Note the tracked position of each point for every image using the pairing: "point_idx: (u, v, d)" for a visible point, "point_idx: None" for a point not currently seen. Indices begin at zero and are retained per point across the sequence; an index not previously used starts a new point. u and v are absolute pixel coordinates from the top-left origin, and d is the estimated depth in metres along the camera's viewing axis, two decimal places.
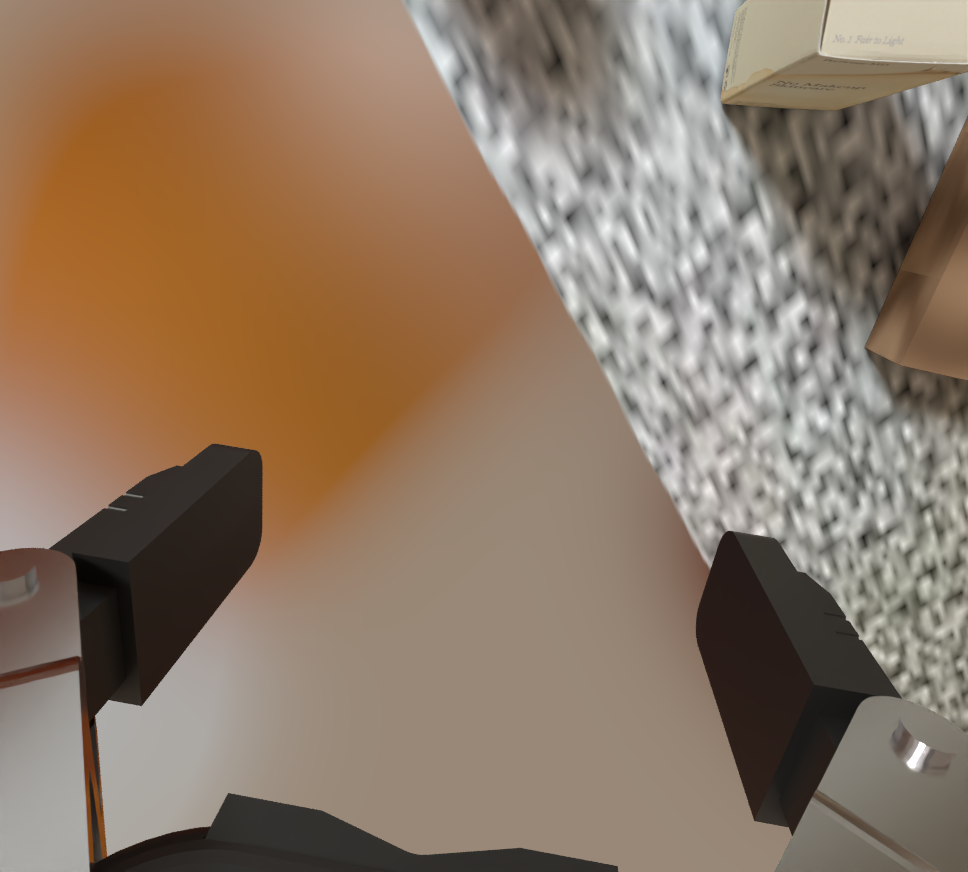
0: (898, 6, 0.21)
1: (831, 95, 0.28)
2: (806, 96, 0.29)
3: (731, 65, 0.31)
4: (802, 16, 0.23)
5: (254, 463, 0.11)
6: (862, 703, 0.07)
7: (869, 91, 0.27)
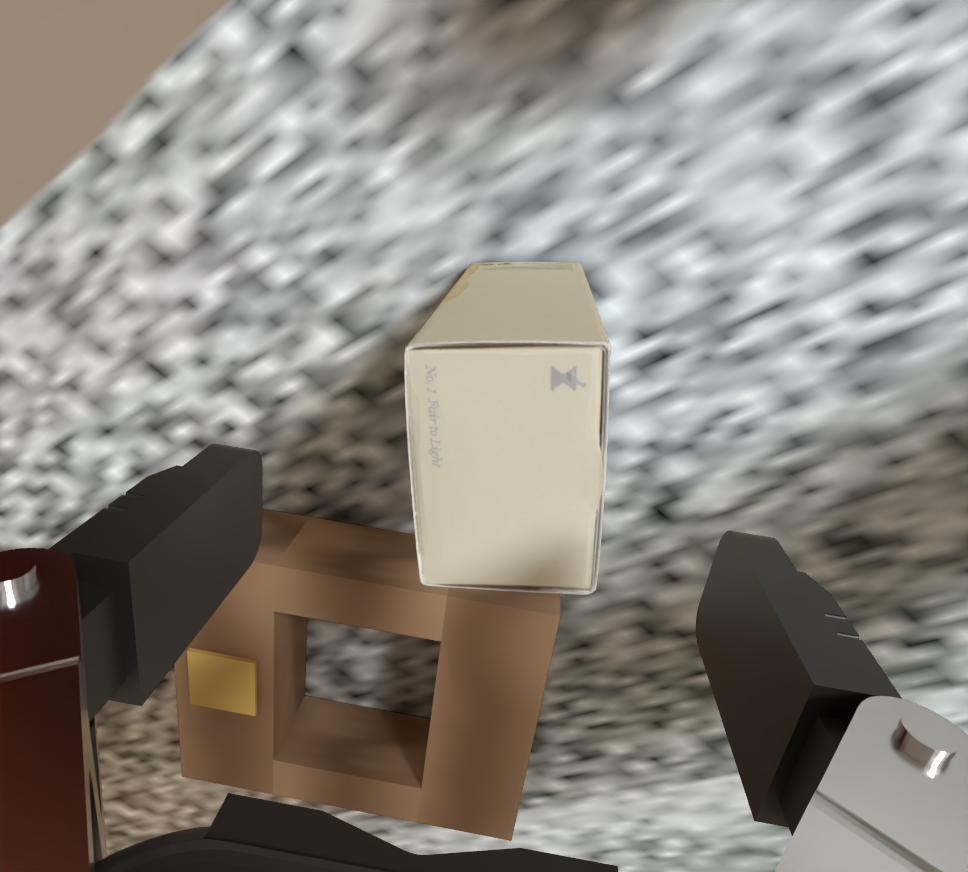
0: (479, 449, 0.14)
1: None
2: None
3: (508, 266, 0.23)
4: (489, 319, 0.15)
5: (254, 463, 0.11)
6: (862, 703, 0.07)
7: None
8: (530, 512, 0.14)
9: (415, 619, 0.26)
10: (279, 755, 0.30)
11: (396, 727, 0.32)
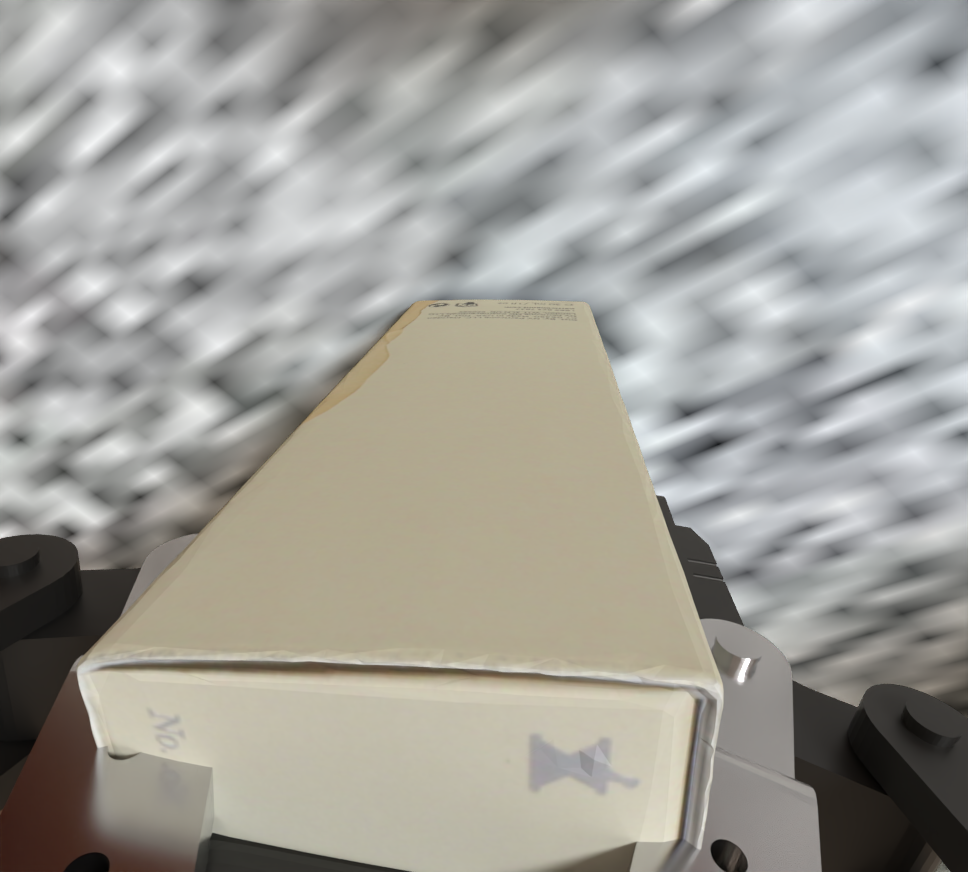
0: None
1: None
2: None
3: (471, 309, 0.14)
4: (379, 506, 0.06)
5: None
6: None
7: None
8: None
9: None
10: None
11: None
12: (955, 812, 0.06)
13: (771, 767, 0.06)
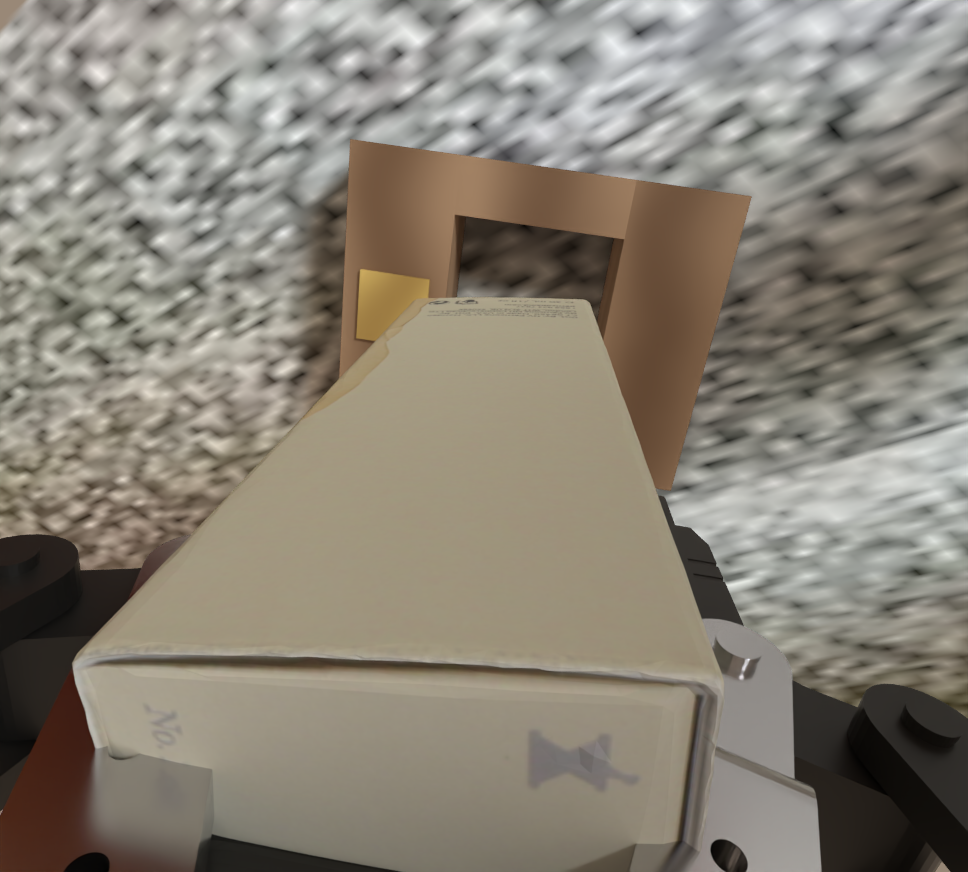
0: None
1: None
2: None
3: (471, 306, 0.14)
4: (378, 501, 0.06)
5: None
6: None
7: None
8: None
9: (600, 213, 0.25)
10: None
11: None
12: (955, 812, 0.06)
13: (771, 767, 0.06)
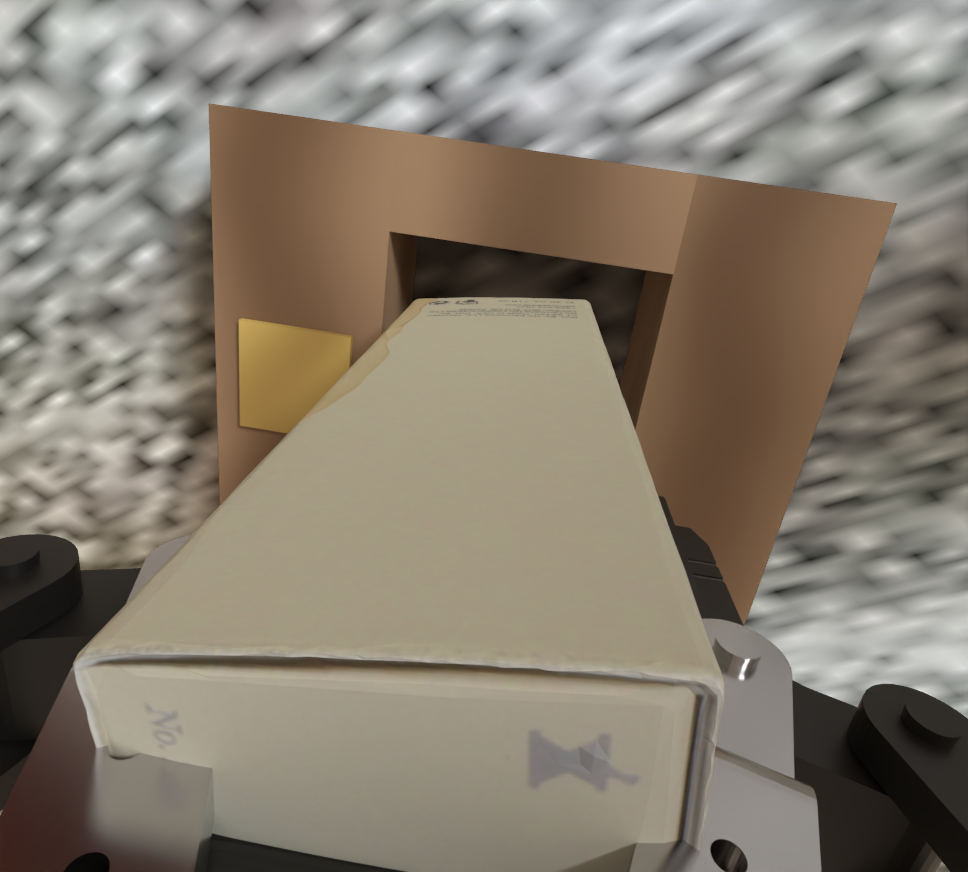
0: None
1: None
2: None
3: (471, 307, 0.14)
4: (378, 502, 0.06)
5: None
6: None
7: None
8: None
9: (634, 230, 0.15)
10: None
11: None
12: (954, 811, 0.06)
13: (770, 767, 0.06)
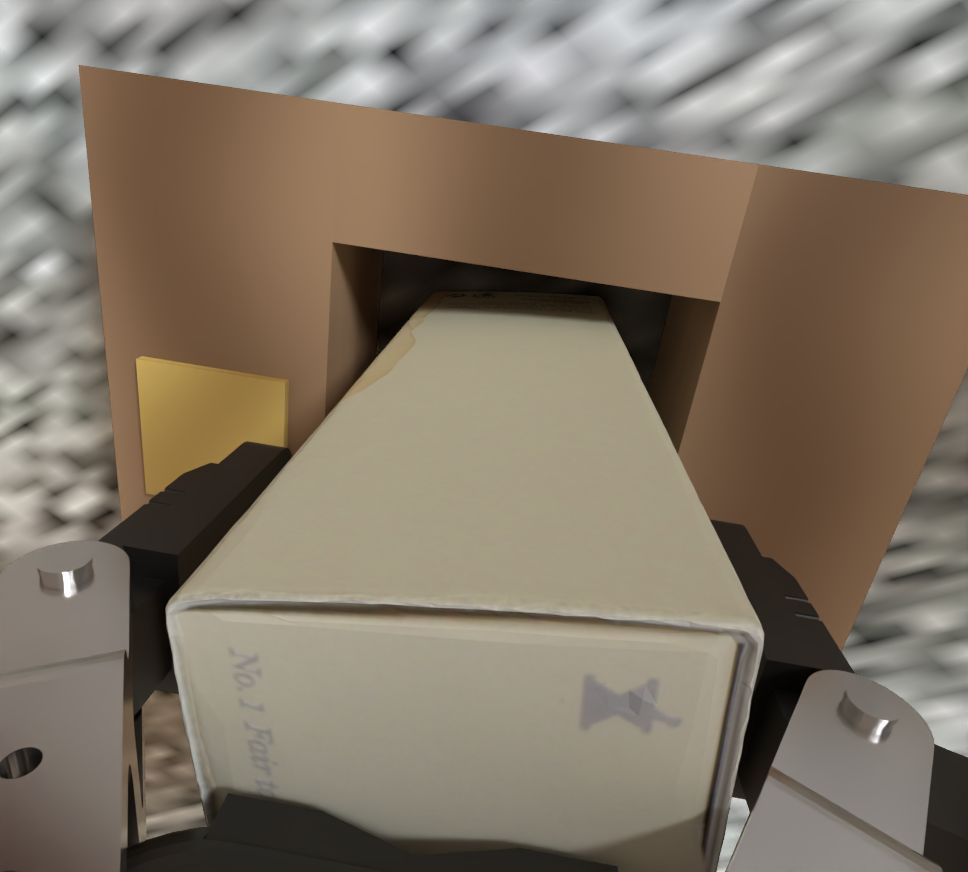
0: (386, 837, 0.05)
1: None
2: None
3: (488, 300, 0.14)
4: (427, 474, 0.06)
5: (286, 460, 0.11)
6: (811, 676, 0.07)
7: None
8: None
9: (668, 241, 0.11)
10: None
11: None
12: None
13: (895, 838, 0.05)
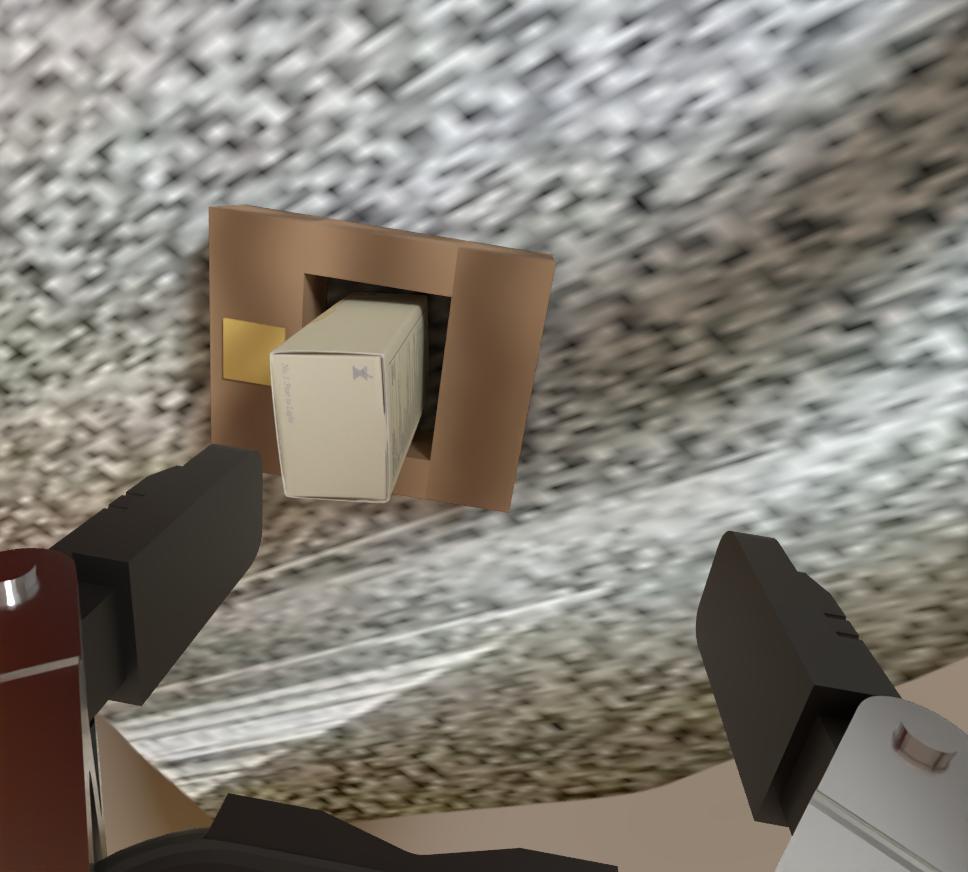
0: (315, 413, 0.24)
1: None
2: None
3: (373, 296, 0.33)
4: (327, 337, 0.24)
5: (254, 463, 0.11)
6: (862, 702, 0.07)
7: None
8: (347, 451, 0.24)
9: (429, 274, 0.29)
10: None
11: None
12: None
13: None
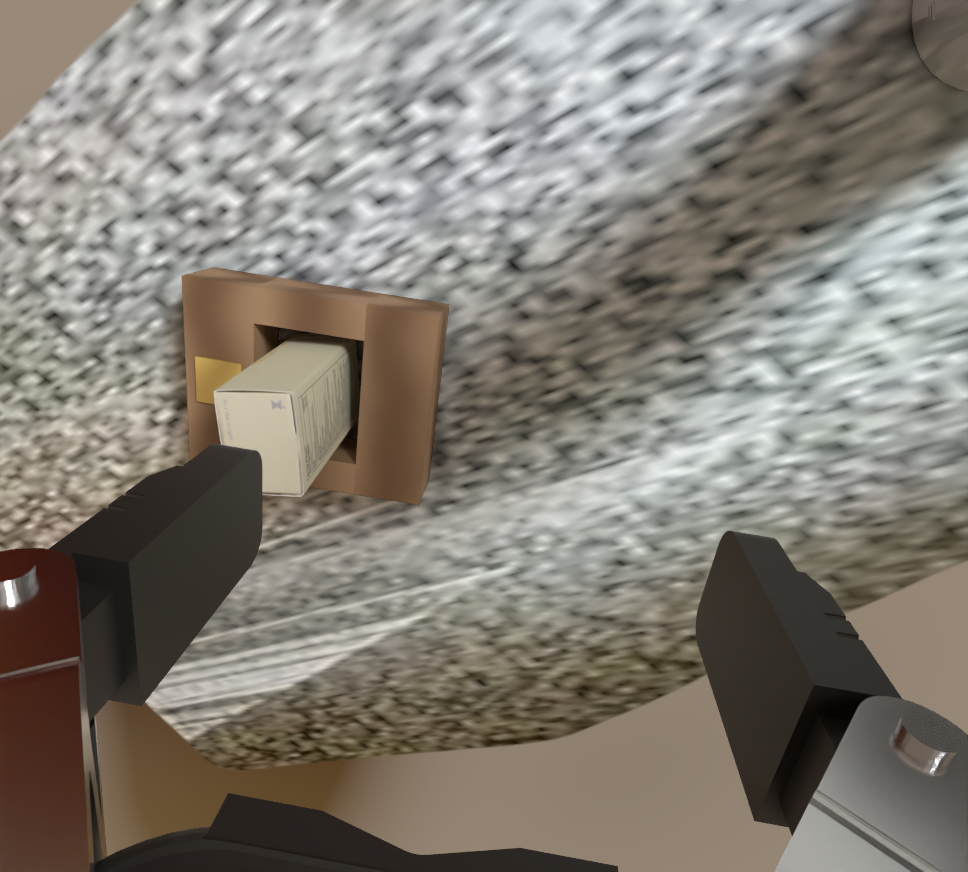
0: (247, 432, 0.33)
1: None
2: None
3: (311, 337, 0.42)
4: (258, 377, 0.34)
5: (254, 463, 0.11)
6: (862, 703, 0.07)
7: None
8: (271, 459, 0.34)
9: (346, 324, 0.39)
10: None
11: (341, 442, 0.45)
12: None
13: None
